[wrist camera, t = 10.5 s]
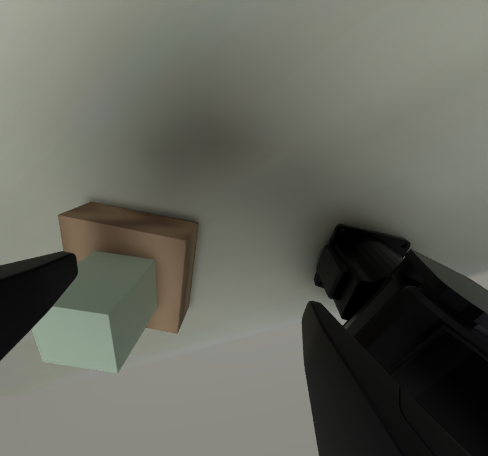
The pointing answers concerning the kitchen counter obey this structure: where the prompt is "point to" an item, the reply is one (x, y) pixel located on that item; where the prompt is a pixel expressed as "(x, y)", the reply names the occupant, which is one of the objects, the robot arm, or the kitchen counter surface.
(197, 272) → the kitchen counter surface
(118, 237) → the walnut block
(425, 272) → the robot arm
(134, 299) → the sage cube
